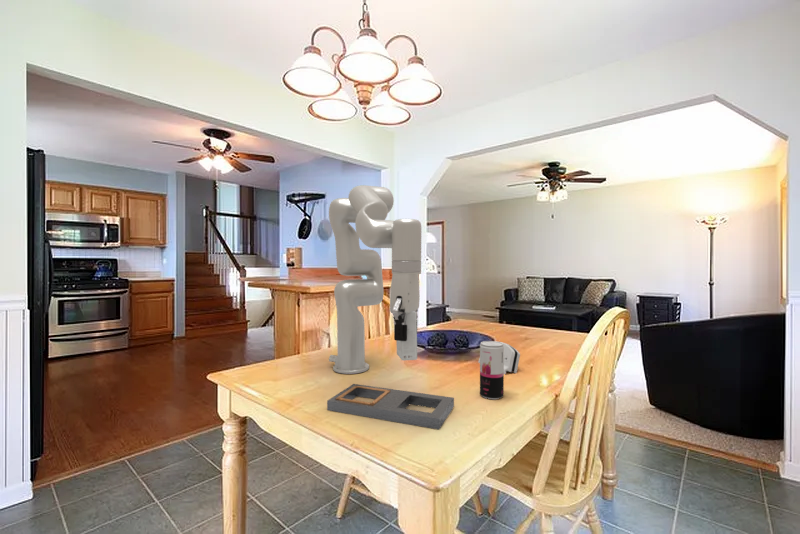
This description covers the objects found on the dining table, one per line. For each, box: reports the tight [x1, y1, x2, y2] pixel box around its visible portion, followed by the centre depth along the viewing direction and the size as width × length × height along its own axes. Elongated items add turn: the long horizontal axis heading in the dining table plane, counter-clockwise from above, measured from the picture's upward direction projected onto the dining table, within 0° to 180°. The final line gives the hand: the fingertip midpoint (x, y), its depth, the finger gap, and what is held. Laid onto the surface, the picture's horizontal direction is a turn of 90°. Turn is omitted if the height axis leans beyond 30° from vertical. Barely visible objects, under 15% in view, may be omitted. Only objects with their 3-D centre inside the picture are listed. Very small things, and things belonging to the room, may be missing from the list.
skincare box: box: [396, 311, 418, 361], centre depth 97 cm, size 6×4×12 cm
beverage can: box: [479, 340, 505, 400], centre depth 108 cm, size 6×6×15 cm
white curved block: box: [477, 341, 521, 375], centre depth 136 cm, size 17×5×10 cm, turn 21°
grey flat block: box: [326, 383, 455, 430], centre depth 99 cm, size 30×14×3 cm, turn 68°
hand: (406, 336), depth 97 cm, fingers closed on skincare box, 7 cm apart
